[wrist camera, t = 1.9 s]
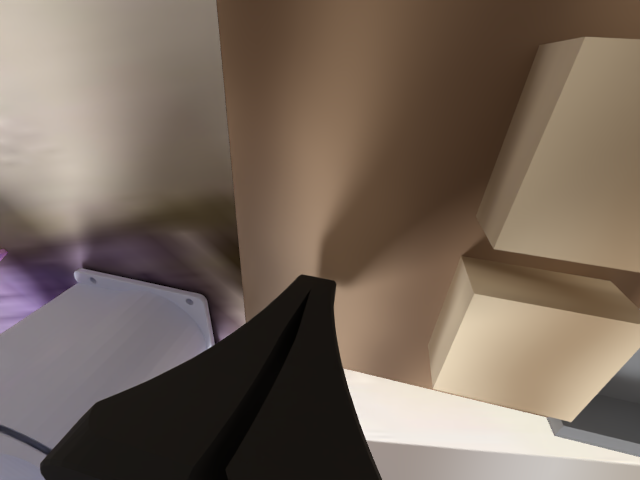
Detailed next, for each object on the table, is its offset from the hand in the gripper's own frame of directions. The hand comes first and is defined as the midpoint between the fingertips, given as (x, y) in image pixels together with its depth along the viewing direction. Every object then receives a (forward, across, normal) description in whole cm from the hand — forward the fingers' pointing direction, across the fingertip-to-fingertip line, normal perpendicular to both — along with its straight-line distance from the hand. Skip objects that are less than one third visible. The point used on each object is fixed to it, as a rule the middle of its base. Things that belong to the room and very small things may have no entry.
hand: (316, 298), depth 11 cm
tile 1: (+1, -7, 0) cm, 7 cm away
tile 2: (+1, -7, -6) cm, 9 cm away
